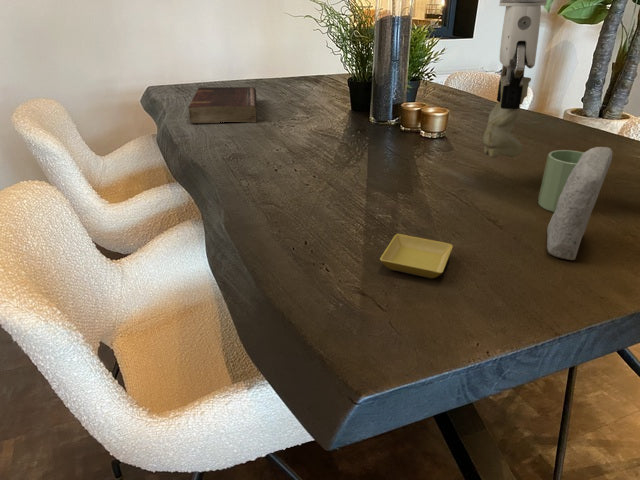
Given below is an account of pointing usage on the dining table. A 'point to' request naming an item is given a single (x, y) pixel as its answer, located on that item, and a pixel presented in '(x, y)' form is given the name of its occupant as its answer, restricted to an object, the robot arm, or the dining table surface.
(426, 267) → the yellow shallow tray
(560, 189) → the sage cup
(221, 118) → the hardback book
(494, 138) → the sculpture
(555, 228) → the decorative stone
